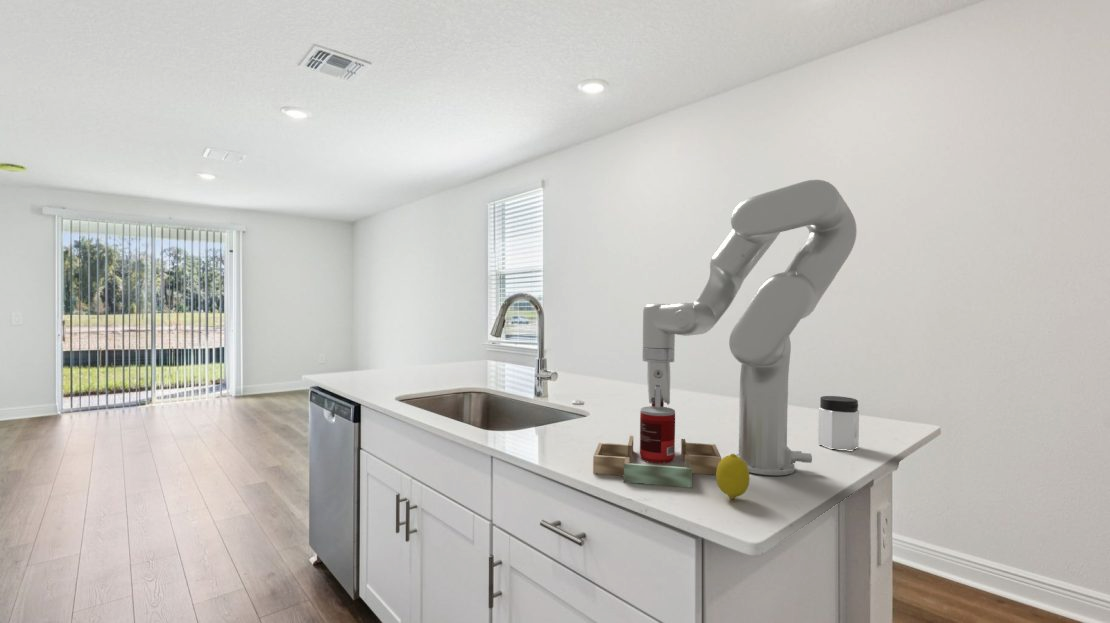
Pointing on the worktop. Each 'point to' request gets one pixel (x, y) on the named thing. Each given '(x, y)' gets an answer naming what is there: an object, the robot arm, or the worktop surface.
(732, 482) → the lemon
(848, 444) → the jar
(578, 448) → the worktop surface
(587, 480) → the worktop surface
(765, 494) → the worktop surface
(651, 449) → the canned food
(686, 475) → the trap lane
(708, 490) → the worktop surface
